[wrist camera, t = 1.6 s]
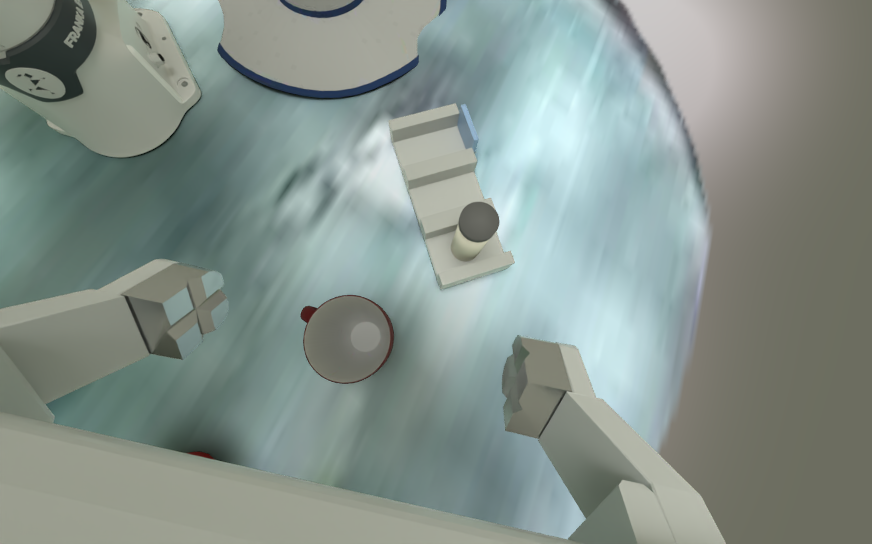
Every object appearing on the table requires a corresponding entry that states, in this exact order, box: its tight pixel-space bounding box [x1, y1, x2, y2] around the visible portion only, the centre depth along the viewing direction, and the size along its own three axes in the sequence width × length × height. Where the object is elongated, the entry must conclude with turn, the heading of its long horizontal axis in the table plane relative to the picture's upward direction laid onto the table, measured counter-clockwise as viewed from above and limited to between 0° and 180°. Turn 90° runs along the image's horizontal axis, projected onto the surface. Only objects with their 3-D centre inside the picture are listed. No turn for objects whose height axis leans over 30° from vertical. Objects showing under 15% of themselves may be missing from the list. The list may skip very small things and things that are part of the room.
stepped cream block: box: [388, 103, 515, 290], centre depth 40 cm, size 22×10×6 cm, turn 18°
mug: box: [301, 295, 394, 384], centre depth 34 cm, size 10×8×10 cm
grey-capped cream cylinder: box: [451, 202, 499, 262], centre depth 35 cm, size 4×4×10 cm
